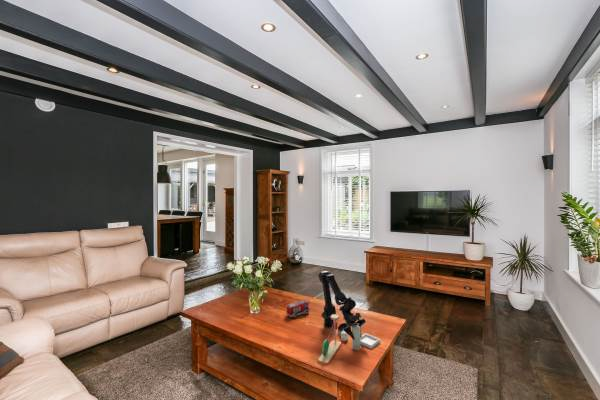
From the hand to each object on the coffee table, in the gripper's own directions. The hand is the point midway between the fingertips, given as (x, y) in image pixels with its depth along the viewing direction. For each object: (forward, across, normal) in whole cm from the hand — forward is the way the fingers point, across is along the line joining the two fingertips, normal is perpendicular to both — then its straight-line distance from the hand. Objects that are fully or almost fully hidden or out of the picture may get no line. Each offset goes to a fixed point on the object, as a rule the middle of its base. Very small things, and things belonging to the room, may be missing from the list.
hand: (357, 338), depth 178 cm
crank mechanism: (+2, -18, +8) cm, 20 cm away
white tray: (+2, +11, +7) cm, 13 cm away
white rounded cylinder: (-5, -1, +14) cm, 15 cm away
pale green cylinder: (+4, 0, +6) cm, 7 cm away
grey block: (-9, +2, +18) cm, 20 cm away
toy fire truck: (-39, -12, +49) cm, 64 cm away
